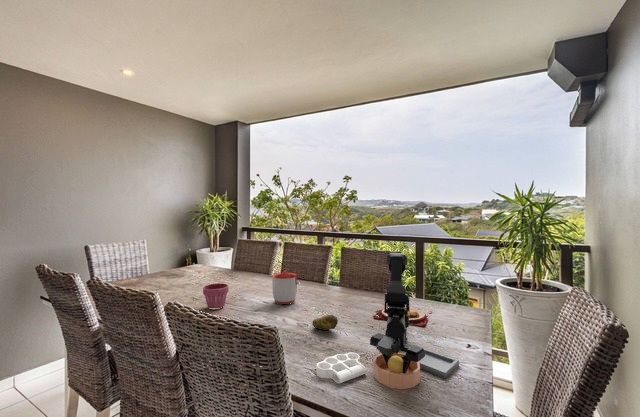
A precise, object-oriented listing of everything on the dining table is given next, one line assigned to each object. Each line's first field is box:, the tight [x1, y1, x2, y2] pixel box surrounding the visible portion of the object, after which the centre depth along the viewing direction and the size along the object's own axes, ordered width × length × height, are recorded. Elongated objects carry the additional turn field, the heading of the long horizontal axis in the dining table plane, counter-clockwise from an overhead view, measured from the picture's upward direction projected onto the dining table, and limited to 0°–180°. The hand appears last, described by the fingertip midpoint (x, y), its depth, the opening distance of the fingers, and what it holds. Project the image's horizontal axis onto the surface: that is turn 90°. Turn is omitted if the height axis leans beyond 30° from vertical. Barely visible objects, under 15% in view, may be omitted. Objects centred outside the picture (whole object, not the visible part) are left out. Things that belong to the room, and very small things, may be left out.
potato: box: [312, 314, 339, 331], centre depth 147 cm, size 8×13×8 cm, turn 36°
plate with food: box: [372, 306, 432, 327], centre depth 167 cm, size 25×26×4 cm
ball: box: [388, 356, 403, 374], centre depth 107 cm, size 6×6×6 cm
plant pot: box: [202, 282, 230, 309], centre depth 181 cm, size 14×14×13 cm
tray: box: [418, 347, 460, 379], centre depth 115 cm, size 16×12×2 cm
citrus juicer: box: [271, 269, 301, 305], centre depth 190 cm, size 16×17×20 cm
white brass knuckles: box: [315, 351, 368, 384], centre depth 111 cm, size 3×18×15 cm
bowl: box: [372, 352, 421, 390], centre depth 107 cm, size 16×16×4 cm
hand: (396, 370), depth 107 cm, fingers closed on ball, 6 cm apart
